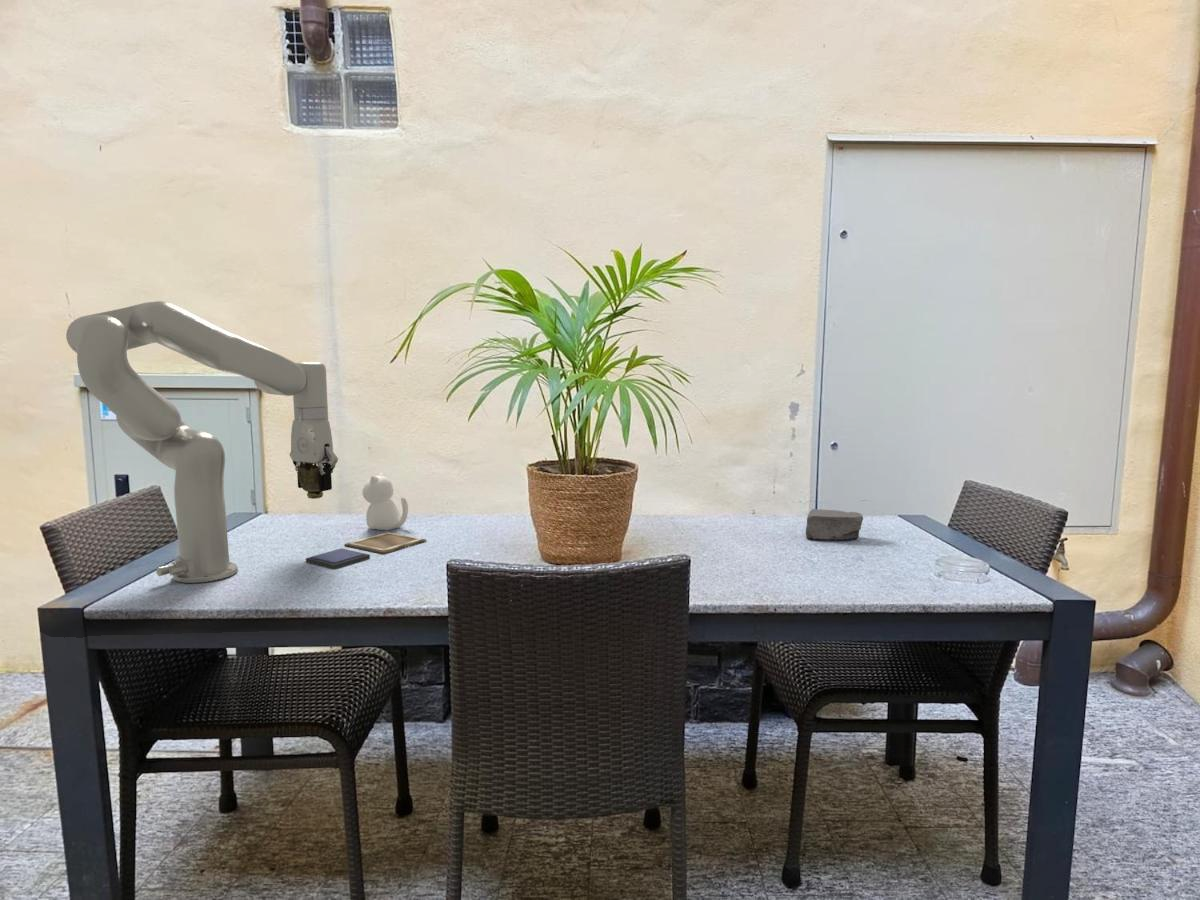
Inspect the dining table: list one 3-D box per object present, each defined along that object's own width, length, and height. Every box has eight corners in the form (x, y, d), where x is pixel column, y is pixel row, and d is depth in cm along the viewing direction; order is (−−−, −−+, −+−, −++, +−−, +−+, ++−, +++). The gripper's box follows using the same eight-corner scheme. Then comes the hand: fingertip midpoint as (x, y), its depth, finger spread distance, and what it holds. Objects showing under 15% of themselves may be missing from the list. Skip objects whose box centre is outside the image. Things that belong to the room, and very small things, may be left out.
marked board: (383, 554, 184) (383, 551, 184) (344, 545, 192) (344, 543, 192) (426, 541, 196) (426, 538, 196) (388, 534, 204) (388, 531, 203)
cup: (336, 495, 189) (335, 462, 188) (323, 501, 181) (322, 467, 180) (307, 494, 189) (305, 462, 188) (293, 500, 182) (291, 466, 181)
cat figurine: (371, 524, 215) (369, 470, 213) (415, 525, 213) (413, 471, 211) (357, 532, 206) (355, 476, 204) (403, 533, 204) (400, 477, 202)
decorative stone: (796, 535, 203) (810, 543, 193) (797, 509, 202) (811, 516, 192) (850, 533, 204) (867, 542, 194) (850, 508, 204) (868, 515, 194)
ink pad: (334, 568, 173) (334, 563, 173) (306, 562, 178) (305, 557, 178) (369, 558, 181) (369, 553, 181) (341, 552, 186) (341, 547, 186)
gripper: (273, 414, 184) (278, 487, 186) (322, 417, 175) (326, 495, 177) (300, 411, 190) (304, 482, 193) (349, 415, 181) (352, 489, 184)
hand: (314, 488), depth 185 cm, fingers closed on cup, 7 cm apart
